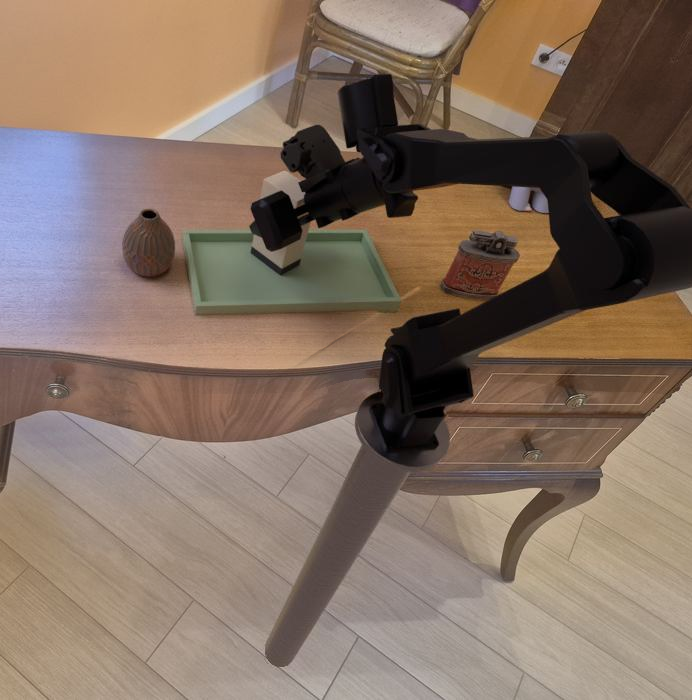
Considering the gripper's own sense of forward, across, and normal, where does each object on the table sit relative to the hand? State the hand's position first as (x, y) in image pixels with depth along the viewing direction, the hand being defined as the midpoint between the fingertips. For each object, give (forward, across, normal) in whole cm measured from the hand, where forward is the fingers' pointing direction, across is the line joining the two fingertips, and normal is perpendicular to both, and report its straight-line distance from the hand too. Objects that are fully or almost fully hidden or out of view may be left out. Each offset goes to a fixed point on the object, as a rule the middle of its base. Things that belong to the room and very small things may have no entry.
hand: (275, 218), depth 83 cm
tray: (+2, +1, +8) cm, 8 cm away
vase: (+10, +16, 0) cm, 19 cm away
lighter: (-11, -19, +20) cm, 30 cm away
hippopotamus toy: (-5, -51, +15) cm, 54 cm away
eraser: (+3, 0, +5) cm, 6 cm away
